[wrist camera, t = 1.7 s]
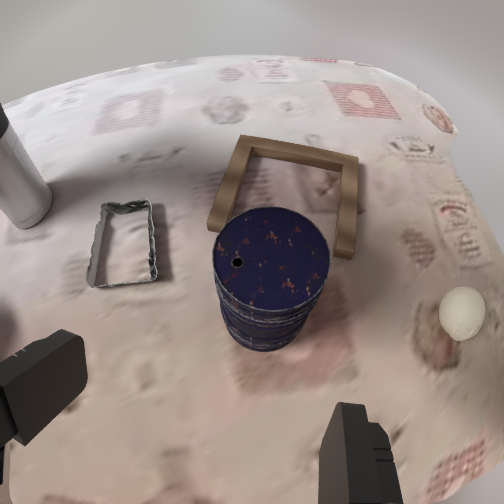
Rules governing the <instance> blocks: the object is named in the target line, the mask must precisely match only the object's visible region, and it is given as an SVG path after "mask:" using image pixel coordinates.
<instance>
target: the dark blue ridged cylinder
mask: <svg viewBox="0 0 504 504" xmlns="http://www.w3.org/2000/svg"><path fill="white" fill-rule="evenodd" d="M212 261H213V268H214V278H215V284H216V289H217V293H218V296H219V299H220V308H221V313H222V316H223V319H224V322H225V324H226V327H227V329H228V331H229V333H230V335H231V336H232V337H233V339H234V340H235V341H237V342H238V343H239V344H240V345H242V346H243V347H245V348H247V349H250V350H253V351H258V352H270V351H275V350H278V349H280V348H282V347H284V346H286V345H287V344H289V343H290V342H291V341H292V340H293V339H294V338H295V337H296V335H297V334H298V333H299V331H300V330H301V328H302V327H303V325H304V323H305V321H306V319H307V317H308V315H309V312H310V311H311V310H312V309H313V307H314V305H315V304H316V302H317V300H318V298H319V296H320V294H321V292H322V289H323V287H324V284H325V282H326V280H327V277H328V275H329V271H330V266H331V256H330V250H329V247H328V244H327V241H326V239H325V237H324V235H323V234H322V232H321V231H320V230H319V228H318V227H317V226H316V225H315V224H314V223H313V222H312V221H310V220H309V219H308V218H306V217H305V216H303V215H301V214H299V213H297V212H295V211H292V210H289V209H285V208H281V207H258V208H254V209H250V210H247V211H245V212H242V213H240V214H238V215H237V216H235V217H234V218H232V219H231V220H230V221H229V222H227V224H226V225H225V226H224V227H223V228H222V229H221V231H220V232H219V234H218V236H217V238H216V240H215V243H214V247H213V255H212Z"/></svg>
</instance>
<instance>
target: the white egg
mask: <svg viewBox="0 0 504 504" xmlns="http://www.w3.org/2000/svg"><path fill="white" fill-rule="evenodd" d="M485 314H486V307H485V302H484V299H483V297H482V296H481V294H480V293H479V292H478V291H477V290H475V289H474V288H471V287H468V286H461V287H456V288H454V289H452V290H450V291H449V292H448V293H447V294H446V295H445V296H444V297H443V299H442V301H441V304H440V308H439V320H440V323H441V326H442V328H443V329H444V330H445V331H446V332H447V333H448V334H449V335H450V336H451V338H453V339H454V340H456V341H465V340H467V339H469V338H471V337H473V336H475V335H476V334H477V333H478V332H479V330H480V328H481V326H482V324H483V322H484V319H485Z"/></svg>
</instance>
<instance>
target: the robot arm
mask: <svg viewBox="0 0 504 504" xmlns="http://www.w3.org/2000/svg"><path fill="white" fill-rule="evenodd" d="M52 198H53V196H52V192H51V191H50V189H49V187H48V186H47V184H46V183H45V181H44V180H43V178H42V176H41V175H40V173H39V172H38V170H37V168H36V167H35V165H34V164H33V162H32V160H31V159H30V157H29V155H28V154H27V152H26V150H25V149H24V147H23V145H22V143H21V142H20V140H19V138H18V136H17V135H16V133H15V131H14V129H13V128H12V126H11V124H10V122H9V120H8V118H7V116H6V115H5V113H4V110H3V108H2V105H1V103H0V209H1V210H2V211H3V212H4V213H5V215H6V216H7V217H8V218H9V219H10V220H11V221H12V223H13V224H14V225H15V226H16V227H18V228H20V229H26V228H29V227H32V226H34V225H35V224H37V223H38V222H39V221H40V220H41V219H42V218H43V217H44V216H45V215H46V214H47V212H48V210H49V209H50V206H51V204H52ZM87 378H88V374H87V366H86V358H85V348H84V341H83V339H82V337H81V336H78V335H76V334H73V333H71V332H68V331H66V330H63V329H60V330H58V331H56V332H55V333H53V334H52V335H50V336H49V337H47V338H44V339H41V340H38V341H34V342H32V343H31V344H29V345H27V346H26V347H24V348H23V350H19V351H18V352H16V353H15V354H14V356H13V355H12V356H10V357H8V358H7V359H5V360H4V361H2V362H1V363H0V504H12V501H11V498H10V494H9V469H10V444H9V441H10V440H11V439H12V438H14V439H15V440H16V441H18V442H19V443H21V444H22V445H24V446H26V445H27V444H28V443H29V442H30V441H31V440H32V439H33V438H34V437H35V436H36V435H37V434H38V433H39V432H40V431H42V430H43V429H44V428H45V427H46V426H47V425H48V424H49V423H50V422H51V421H52V420H53V419H54V418H55V417H56V416H57V415H58V414H59V413H60V412H61V411H62V410H63V409H64V408H66V407H67V406H68V405H69V404H70V403H71V402H72V401H73V400H74V399H75V398H76V397H77V396H78V395H79V394H80V393H81V392H82V391H83V390H84V388H85V386H86V383H87ZM393 460H394V458H393V454H392V451H391V446H390V442H389V438H388V435H387V434H386V432H385V431H384V430H383V428H382V427H381V426H380V425H379V423H372V422H368V418H367V413H366V409H365V406H364V405H362V404H353V403H344V402H338V403H337V405H336V407H335V409H334V412H333V415H332V417H331V420H330V422H329V425H328V427H327V430H326V432H325V435H324V437H323V440H322V444H321V448H320V454H319V491H318V504H403V499H402V495H401V490H400V485H399V480H398V476H397V471H396V467H395V463H394V462H393Z"/></svg>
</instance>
